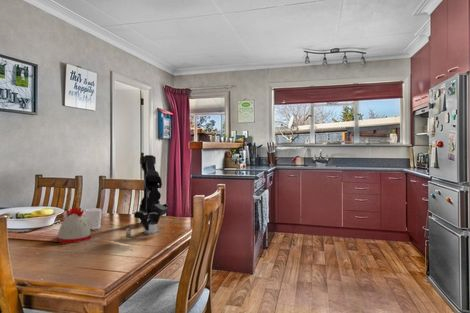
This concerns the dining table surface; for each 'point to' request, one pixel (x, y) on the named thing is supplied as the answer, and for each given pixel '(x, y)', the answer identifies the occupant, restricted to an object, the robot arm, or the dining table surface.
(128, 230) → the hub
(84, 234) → the chicken hat
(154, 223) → the collar
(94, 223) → the white cup
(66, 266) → the dining table surface
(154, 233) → the stand
